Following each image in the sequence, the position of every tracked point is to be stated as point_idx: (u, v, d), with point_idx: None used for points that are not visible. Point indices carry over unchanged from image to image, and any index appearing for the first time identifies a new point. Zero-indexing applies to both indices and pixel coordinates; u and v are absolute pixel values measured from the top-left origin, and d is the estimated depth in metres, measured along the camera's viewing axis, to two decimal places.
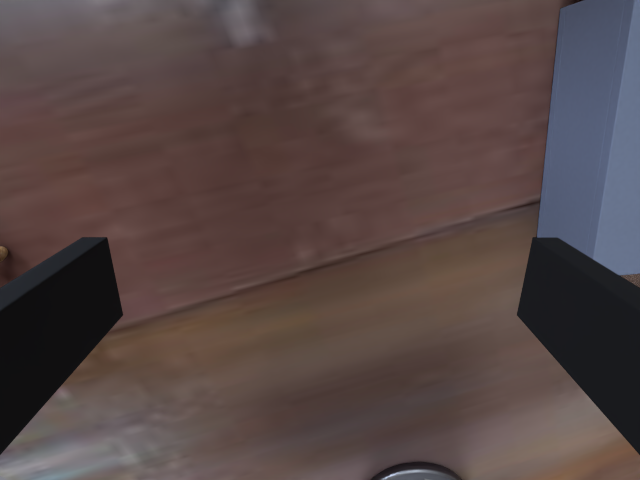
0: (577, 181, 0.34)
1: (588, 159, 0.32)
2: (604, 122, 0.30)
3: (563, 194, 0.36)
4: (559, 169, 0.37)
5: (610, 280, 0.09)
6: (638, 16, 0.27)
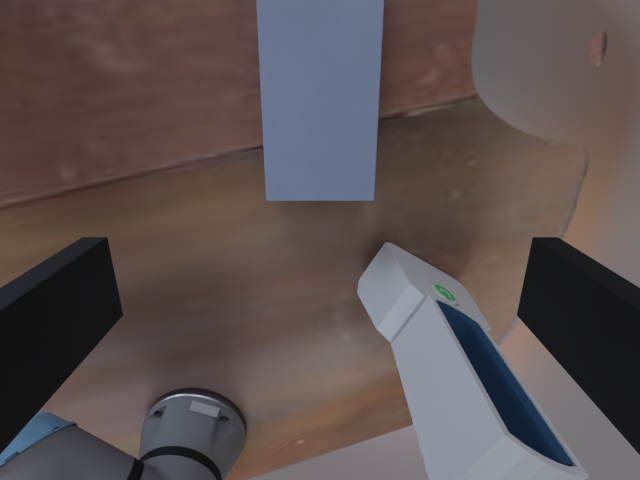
0: None
1: None
2: None
3: None
4: None
5: (610, 280, 0.09)
6: None
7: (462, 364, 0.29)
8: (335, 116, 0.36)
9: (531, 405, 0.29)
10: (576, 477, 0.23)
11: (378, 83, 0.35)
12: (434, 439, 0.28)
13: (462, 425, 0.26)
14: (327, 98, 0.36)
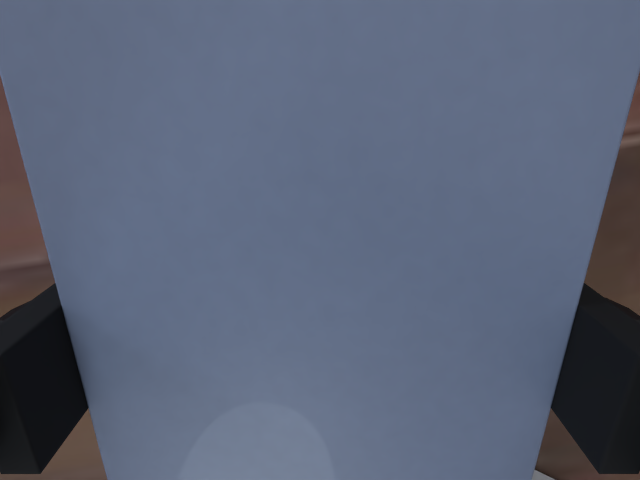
0: None
1: None
2: None
3: None
4: None
5: None
6: None
7: None
8: (394, 213, 0.07)
9: None
10: None
11: (638, 47, 0.06)
12: None
13: None
14: (358, 127, 0.07)
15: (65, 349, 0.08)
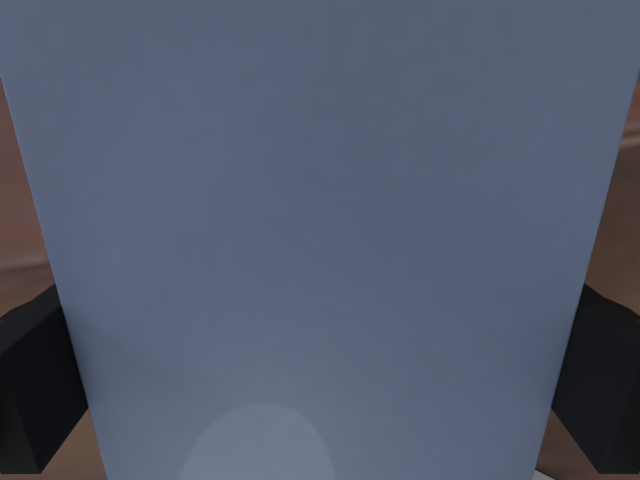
0: None
1: None
2: None
3: None
4: None
5: None
6: None
7: None
8: (394, 213, 0.07)
9: None
10: None
11: (638, 47, 0.06)
12: None
13: None
14: (358, 127, 0.07)
15: (65, 349, 0.08)
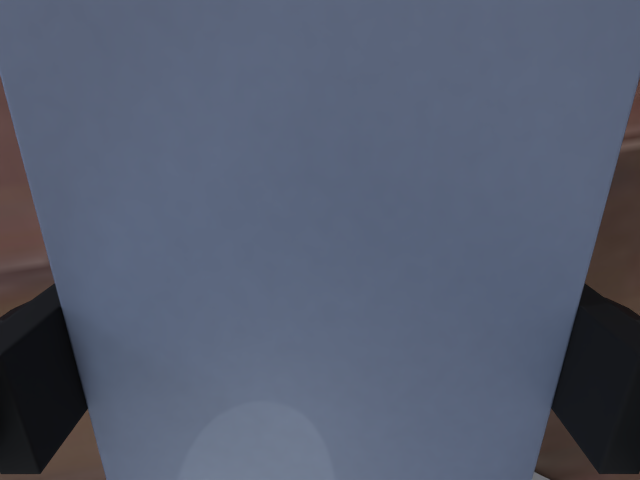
0: None
1: None
2: None
3: None
4: None
5: None
6: None
7: None
8: (394, 214, 0.07)
9: None
10: None
11: None
12: None
13: None
14: (359, 127, 0.07)
15: (65, 349, 0.08)
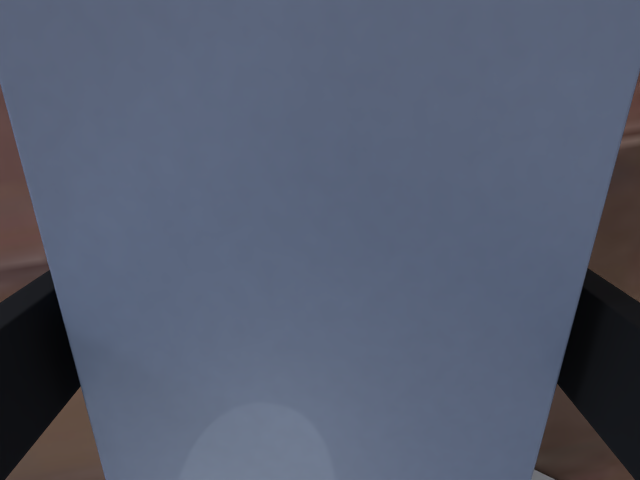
0: None
1: None
2: None
3: None
4: None
5: None
6: None
7: None
8: (393, 212, 0.07)
9: None
10: None
11: (639, 46, 0.06)
12: None
13: None
14: (357, 126, 0.07)
15: (23, 362, 0.08)
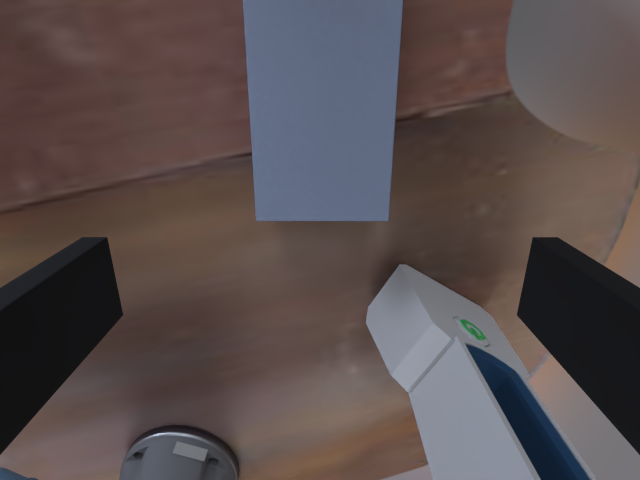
0: None
1: None
2: None
3: None
4: None
5: (610, 280, 0.09)
6: None
7: (511, 448, 0.22)
8: (341, 117, 0.29)
9: None
10: None
11: (396, 76, 0.28)
12: None
13: None
14: (332, 95, 0.28)
15: None
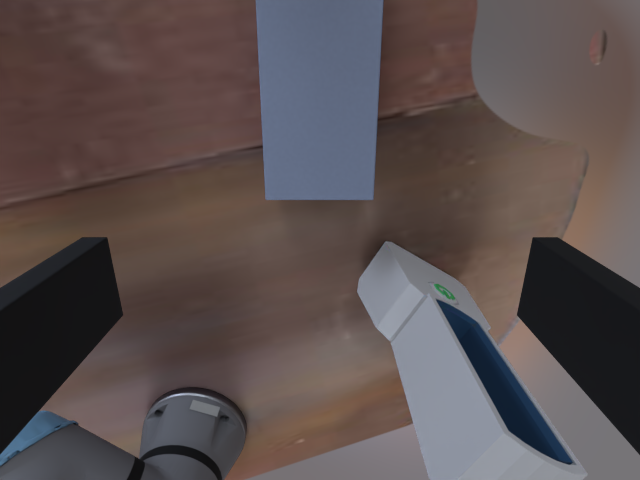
0: None
1: None
2: None
3: None
4: None
5: (610, 280, 0.09)
6: None
7: (461, 363, 0.29)
8: (334, 115, 0.36)
9: (531, 404, 0.29)
10: (575, 475, 0.23)
11: (377, 82, 0.35)
12: (434, 437, 0.28)
13: (462, 423, 0.26)
14: (327, 97, 0.36)
15: None
